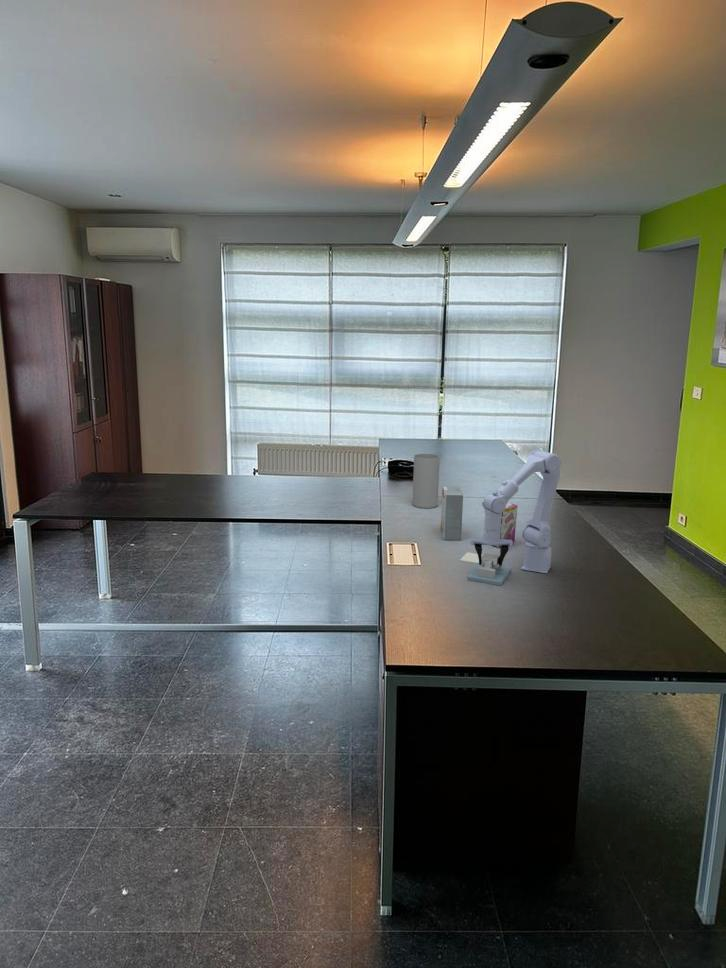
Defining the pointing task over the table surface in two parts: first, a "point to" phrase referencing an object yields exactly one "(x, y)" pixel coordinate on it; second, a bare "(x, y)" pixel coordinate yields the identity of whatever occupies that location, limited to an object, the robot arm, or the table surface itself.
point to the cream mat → (471, 558)
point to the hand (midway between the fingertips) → (490, 564)
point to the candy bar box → (508, 523)
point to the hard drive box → (451, 512)
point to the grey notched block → (490, 558)
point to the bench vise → (489, 574)
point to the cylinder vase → (426, 480)
